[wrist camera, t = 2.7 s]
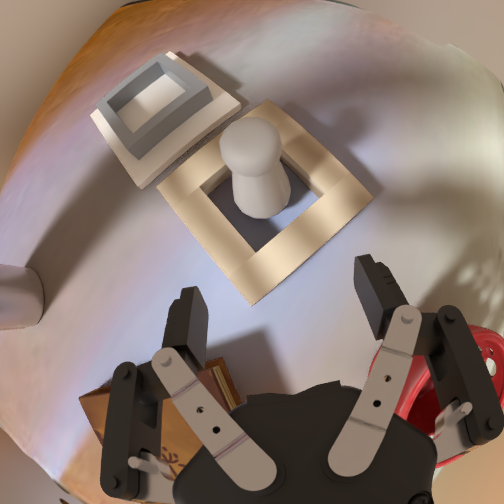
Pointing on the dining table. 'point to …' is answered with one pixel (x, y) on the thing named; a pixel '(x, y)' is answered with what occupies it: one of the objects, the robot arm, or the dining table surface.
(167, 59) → the socket plate
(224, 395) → the diary
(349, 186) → the birch holder block
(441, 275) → the dining table surface
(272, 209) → the salt shaker
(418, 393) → the plant pot
